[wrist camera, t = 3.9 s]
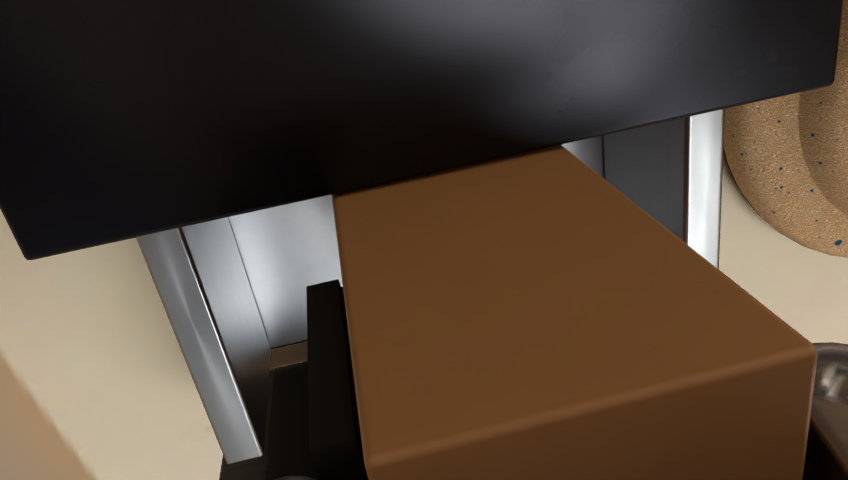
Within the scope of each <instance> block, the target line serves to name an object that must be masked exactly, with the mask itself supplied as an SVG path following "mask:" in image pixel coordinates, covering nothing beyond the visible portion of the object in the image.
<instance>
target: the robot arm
mask: <svg viewBox="0 0 848 480" xmlns="http://www.w3.org/2000/svg"><path fill="white" fill-rule="evenodd" d="M306 294H307V347H308V364H304V365H300V366H295V367H291V368H287V369H283V370H279V371H276V372H275V373H274V377H273V389H272V405H271V422H270V438H269V455H268V472H267V480H369V479H368V476H367V472H366V469H365V465H364V457H363V449H362V441H361V433H360V425H359V416H358V408H357V400H356V392H355V383H354V375H353V367H352V359H351V351H350V342H349V334H348V326H347V318H346V309H345V301H344V293H343V287H341V285H340V282H339V280H338V279H336V280H332V281H328V282H323V283H319V284H315V285H310V286H307V288H306ZM813 345H814V347H815V348H816V350H817V354H818V359H817V367H816V375H815V383H814V391H813V399H812V407H811V415H810V423H809V431H808V439H807V447H806V455H805V463H804V471H803V479H802V480H848V344H840V343H813Z"/></svg>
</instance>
